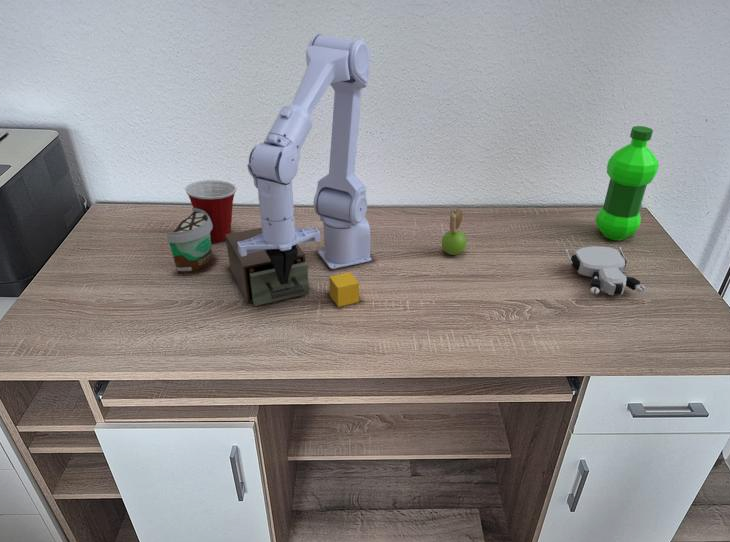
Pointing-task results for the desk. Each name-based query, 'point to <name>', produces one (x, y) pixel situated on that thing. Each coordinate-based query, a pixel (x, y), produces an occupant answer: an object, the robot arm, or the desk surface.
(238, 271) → the cabinet
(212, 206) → the plastic cup
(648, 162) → the plastic bottle
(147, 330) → the desk surface
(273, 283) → the drawer
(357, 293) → the block
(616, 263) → the robot toy
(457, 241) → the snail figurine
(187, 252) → the food container
